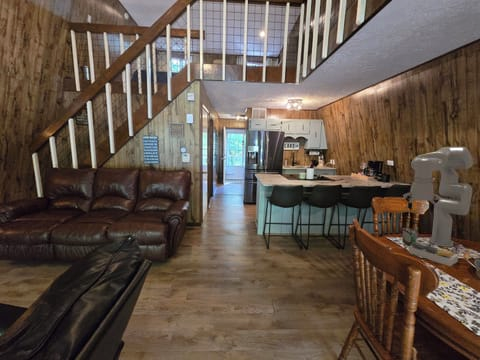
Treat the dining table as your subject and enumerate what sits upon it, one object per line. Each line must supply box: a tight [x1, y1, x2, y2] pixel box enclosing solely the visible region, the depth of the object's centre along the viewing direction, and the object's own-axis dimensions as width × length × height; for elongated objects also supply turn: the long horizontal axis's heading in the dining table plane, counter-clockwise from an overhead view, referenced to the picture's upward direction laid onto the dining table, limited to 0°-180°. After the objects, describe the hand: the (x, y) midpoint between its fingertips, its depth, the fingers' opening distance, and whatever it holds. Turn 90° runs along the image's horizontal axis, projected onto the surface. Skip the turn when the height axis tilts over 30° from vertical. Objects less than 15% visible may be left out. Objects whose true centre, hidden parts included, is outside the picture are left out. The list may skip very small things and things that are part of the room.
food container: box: [402, 227, 419, 247], centre depth 151 cm, size 12×6×10 cm, turn 168°
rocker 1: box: [411, 241, 425, 249], centre depth 138 cm, size 4×6×2 cm
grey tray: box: [408, 246, 459, 267], centre depth 134 cm, size 10×20×4 cm, turn 30°
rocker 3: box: [437, 249, 454, 257], centre depth 126 cm, size 4×6×2 cm
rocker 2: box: [423, 244, 439, 254], centre depth 132 cm, size 4×6×2 cm
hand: (420, 209), depth 129 cm, fingers open, 9 cm apart
